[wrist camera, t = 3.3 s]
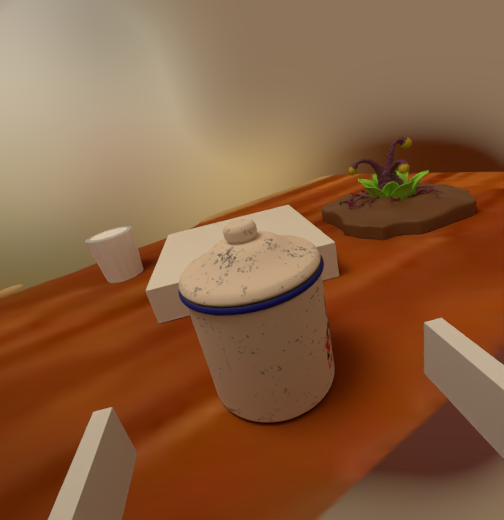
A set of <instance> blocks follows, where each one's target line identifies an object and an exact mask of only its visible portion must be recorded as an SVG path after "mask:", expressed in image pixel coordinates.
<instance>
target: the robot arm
mask: <svg viewBox="0 0 504 520" xmlns="http://www.w3.org/2000/svg"><path fill="white" fill-rule="evenodd" d="M424 373H425V374H426V376H427V377H428V378H429V379H430V380H431V381H432V382H433V383H434V384H435V385H436V386H437V387H438V388H439V390H440V391H441V392H442V393H443V394H444V395H445V396H446V397H447V398H448V399H449V400H450V401H451V403H453V405H454V406H455V407H456V408H457V409H458V410H459V411H460V412H461V413H462V414H463V415H464V417H465V418H466V419H467V420H468V421H469V422H470V423H471V424H472V425H473V426H474V427H475V428H476V430H477V431H478V432H479V433H480V434H481V435H482V436H483V437H484V438H485V439H486V440H487V441H488V442H489V444H490V445H492V447H493V448H494V449H495V450H496V451H497V452H498V453H499V454H500V455H501V457H502V458H503V459H504V365H503V364H501V363H500V362H499V361H497V360H496V359H495V358H493V357H492V356H491V355H490V354H488V353H487V352H486V351H484V350H483V349H482V348H480V347H479V346H478V345H476V344H475V343H474V342H472V341H471V340H470V339H469V338H467V337H466V336H465V335H463V334H462V333H461V332H459V331H458V330H457V329H455V328H454V327H453V326H452V325H450V324H449V323H448V322H446V321H445V320H444V319H442V318H439V319H435V320H432V321H428V322H424ZM136 455H137V452H136V450H135V448H134V446H133V444H132V442H131V441H130V439H129V437H128V435H127V433H126V431H125V429H124V428H123V426H122V424H121V422H120V420H119V418H118V416H117V415H116V413H115V411H114V409H113V407H110V408H106V409H103V410H99V411H95V412H93V414H92V416H91V419H90V421H89V423H88V426H87V428H86V431H85V433H84V435H83V438H82V440H81V442H80V445H79V447H78V449H77V452H76V454H75V457H74V459H73V461H72V464H71V466H70V468H69V471H68V473H67V476H66V478H65V480H64V483H63V485H62V487H61V490H60V492H59V494H58V497H57V499H56V502H55V504H54V506H53V509H52V511H51V513H50V516H49V518H48V520H122V516H123V512H124V508H125V503H126V499H127V494H128V490H129V486H130V481H131V477H132V473H133V468H134V464H135V459H136Z"/></svg>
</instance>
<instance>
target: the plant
mask: <svg viewBox="0 0 504 520" xmlns="http://www.w3.org/2000/svg"><path fill="white" fill-rule="evenodd" d="M397 143H399V144H400V146H401V147H402V148H404V149H407V148H409V147H410V146H411V144H412V142H411V140H410V139H409V138H407V137H401V138H398V139H395V140H394V142H393V143H392V145H391V146H390V149H389V152H388V154H387V160H386V166H385V167H382V166H381V165H379V164H378V163H377V162H376V161H374V160H370V159H361V160H359V161H358V162H356V163H354V164H353V165H351V167H350V168H349V174H350V175H354V174H356V172H357V167H358V164H360V163H368V164H370V165H371V166H372V168H374V170H375V172H376V174H373V175H372V178H373V181H374V182H372V181H370V180H367V179H358V181H359V182H361V183H362V184H363V185H364V187H363V188H365V189H367V191H364V190H363V189H362V190H361V191H362V193H355V194H352V193H351V194H350V195H347V196H344V197H340V198H339V199H338V200H336V201H334V202H331V203H327V204H326V205H324V206H323V208H322V214H323V220H324V221H325V222H327V223H329V224H332V225H334V226H336V227H338V228H339V229H341V230H342V231H343V232H344V234H345V235H346V236H353V237H357V238H362V239H378V240H387V239H389V238H392V237H395V236H400V235H411V234H424V233H428V232H430V231H433V230H435V229H438V228H441V227H444V226H446V225H449V224H452V223H454V222H457V221H460V220H463V219H465V218H468V217H470V216H473V215H475V212H476V199H474V198H473V197H472V196H471V195H470V194H469V192H468V191H467V190H464V189H462V188H457V187H453V186H449V185H444V184H441V185H434V184H427V183H419V181H420V180H421V178H423V176H425V175H426V174H427V173H428V170H427V171H424V172H420V173H418V174H417V175H415V176H414V177H412V178H411V179H410V180H409V181H408V171H409V164H408V163H407V162H406V161H405V160H398V161H395V162H394V161H393V160H394V159H393V156H394V149H395V146H396V144H397ZM399 164H400V165H399ZM398 165H399V168H398V170H399V172H398V171H396V170H395V169H396V168H397V167H398ZM407 181H408V182H407Z"/></svg>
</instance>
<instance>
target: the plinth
mask: <svg viewBox="0 0 504 520" xmlns="http://www.w3.org/2000/svg"><path fill="white" fill-rule="evenodd" d="M238 219H251V220H253V221H254V222H255V224H256V228H257V231H267V232H271V233H274V234H277V235H292V236H297V237H301V238H304V239H306V240H308V241H310V242H311V243H313V244H314V245H315V246H316V248H317V249H318V250H319V252H320V254H321V256H322V258H323V261H324V268H323V271H322V274H321V276H322V281H323V280H327V279H331V278H334V277H338V276H339V271H338V263H337V255H336V246H335V242H334V241H333V240H331V239H330V238H329V237H328V236H326V235H325V234H324V233H323V232H321V231H320V230H319V229H318V228H317V227H315V226H314V225H313V224H312V223H310V222H309V221H308V220H307V219H305V218H304V217H303V216H302V215H300V214H299V213H298V212H297V211H295V210H294V209H293V208H292V207H290V206H289V205H286V206H282V207H278V208H274V209H270V210H266V211H262V212H258V213H254V214H250V215H246V216H242V217H238V218H234V219H230V220H226V221H222V222H218V223H214V224H210V225H206V226H202V227H198V228H194V229H190V230H186V231H182V232H178V233H174V234H170V235H168V238H167V240H166V242H165V245H164V247H163V250H162V252H161V255H160V257H159V259H158V262H157V264H156V267H155V269H154V272H153V274H152V277H151V279H150V281H149V284H148V286H147V289H146V294H147V296H148V299H149V301H150V304H151V306H152V308H153V311H154V313H155V316H156V318H157V321H158V323H163V322H167V321H170V320H174V319H178V318H182V317H186V316H190V313H189V310H188V307H187V306H185V305H184V304H183V303H182V301H181V299H180V297H179V281H180V277H181V275H182V273H183V271H184V270H185V268H186V267H187V266H188V265H189V264H190V263H191V262H192V261H194V260H195V259H196V258H198V257H199V256H201V255H203V254H204V253H206V252H208V251H209V250H210V249H211V248H212V247H213V246H214V245H215V244H217V243H218V242H219V241H221V240H223V239H225V238H224V235H223V228H224V226H225V225H226V224H227V223H229V222H232V221H234V220H238Z"/></svg>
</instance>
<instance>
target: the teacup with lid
mask: <svg viewBox="0 0 504 520" xmlns="http://www.w3.org/2000/svg"><path fill="white" fill-rule="evenodd" d="M223 235H224V238H225V239H223V240H221V241H219V242H218V243H217V244H215V245H214V246H213V247H212V248H211V249H210V250H209V251H208V252H206V253H204V254H203V255H201V256H199V257H198V258H196V259H195V260H194V261H192V262H191V263H190V264H189V265H188V266H187V267H186V268H185V270H184V271H183V273H182V275H181V277H180V281H179V297H180V299H181V301H182V303H183V304H184V305H185V306H187V307H188V310H189V313H190V316H191V319H192V321H193V324H194V327H195V330H196V333H197V336H198V339H199V342H200V344H201V347H202V350H203V353H204V356H205V359H206V362H207V364H208V367H209V370H210V373H211V376H212V379H213V382H214V384H215V387H216V390H217V393H218V396H219V398H220V400H221V401H222V403H223V404H224V405H225V406H226V407H227V408H228V409H229V410H230V411H231V412H233V413H234V414H236V415H237V416H239V417H241V418H244V419H247V420H251V421H255V422H266V423H267V422H280V421H285V420H288V419H292V418H295V417H297V416H299V415H301V414H303V413H305V412H307V411H309V410H310V409H312V408H313V407H314V406H316V405H317V404H318V403H319V402H320V401H321V400H322V399H323V398H324V396H325V395H326V394H327V392H328V391H329V389H330V387H331V384H332V382H333V379H334V373H335V366H334V359H333V352H332V345H331V338H330V331H329V324H328V317H327V311H326V304H325V297H324V290H323V283H322V276H321V274H322V271H323V268H324V261H323V258H322V256H321V254H320V252H319V250H318V249H317V248H316V246H315V245H314V244H313V243H311V242H310V241H308V240H306V239H304V238H301V237H297V236H292V235H277V234H274V233H271V232H267V231H257V228H256V224H255V222H254V221H253V220H251V219H238V220H234V221H232V222H229V223H227V224H226V225H225V226H224V228H223Z"/></svg>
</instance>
